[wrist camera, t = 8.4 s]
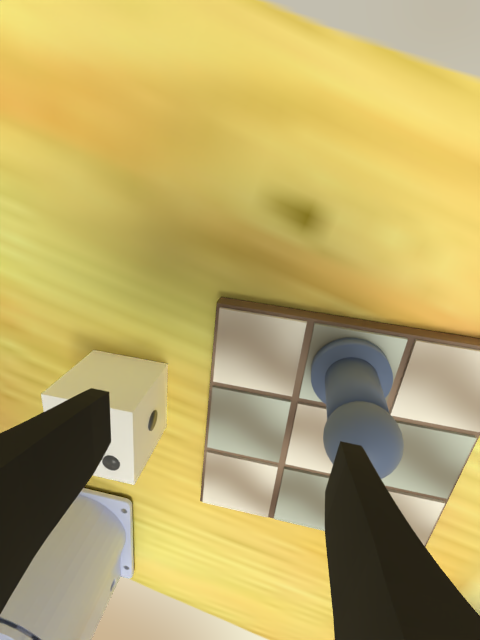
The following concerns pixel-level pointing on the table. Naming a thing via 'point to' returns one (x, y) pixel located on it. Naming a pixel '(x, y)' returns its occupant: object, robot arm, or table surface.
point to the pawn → (357, 401)
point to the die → (121, 407)
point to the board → (311, 414)
